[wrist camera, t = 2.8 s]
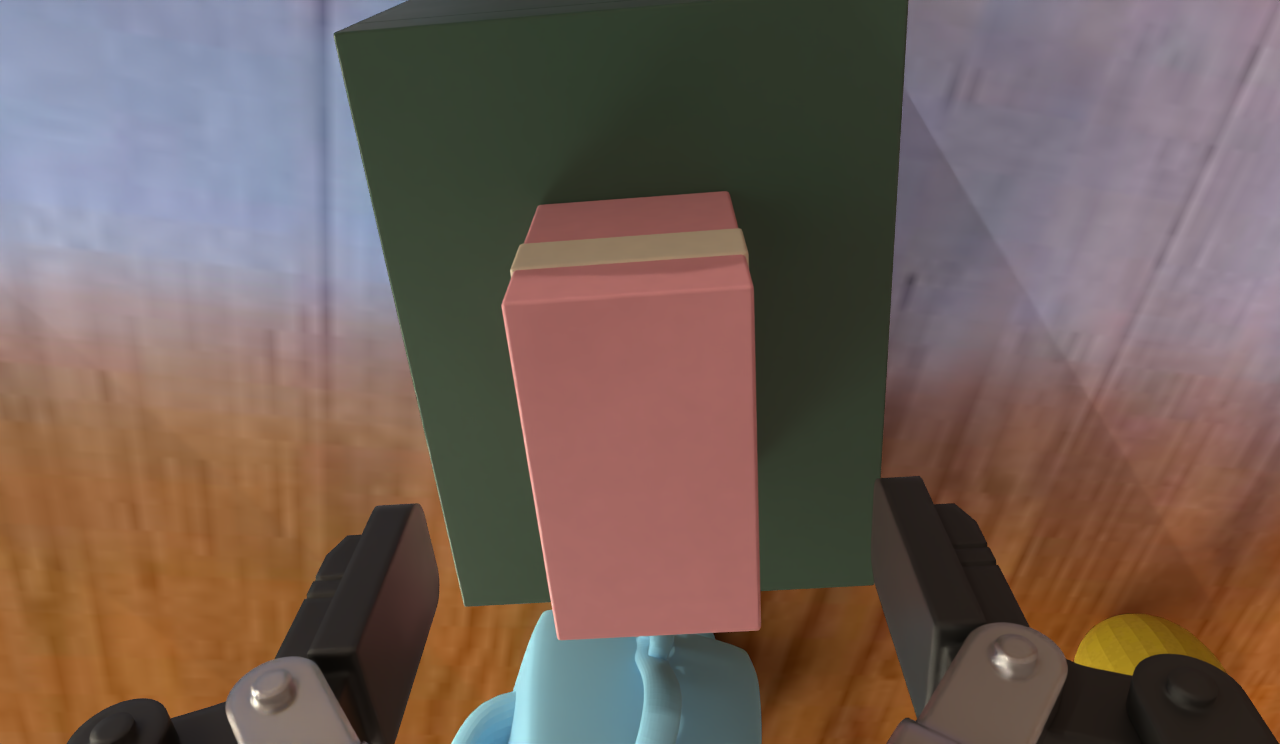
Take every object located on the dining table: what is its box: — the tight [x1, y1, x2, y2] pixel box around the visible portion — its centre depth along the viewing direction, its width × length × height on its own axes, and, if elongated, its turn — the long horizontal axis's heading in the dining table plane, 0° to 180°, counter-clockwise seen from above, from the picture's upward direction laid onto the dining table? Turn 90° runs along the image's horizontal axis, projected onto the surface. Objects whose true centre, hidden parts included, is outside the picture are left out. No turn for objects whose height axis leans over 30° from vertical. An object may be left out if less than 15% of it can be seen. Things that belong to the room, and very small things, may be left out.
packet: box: [501, 191, 761, 640], centre depth 20 cm, size 4×8×6 cm, turn 5°
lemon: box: [1074, 614, 1226, 676], centre depth 36 cm, size 6×6×8 cm
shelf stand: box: [334, 0, 908, 606], centre depth 27 cm, size 12×16×10 cm
